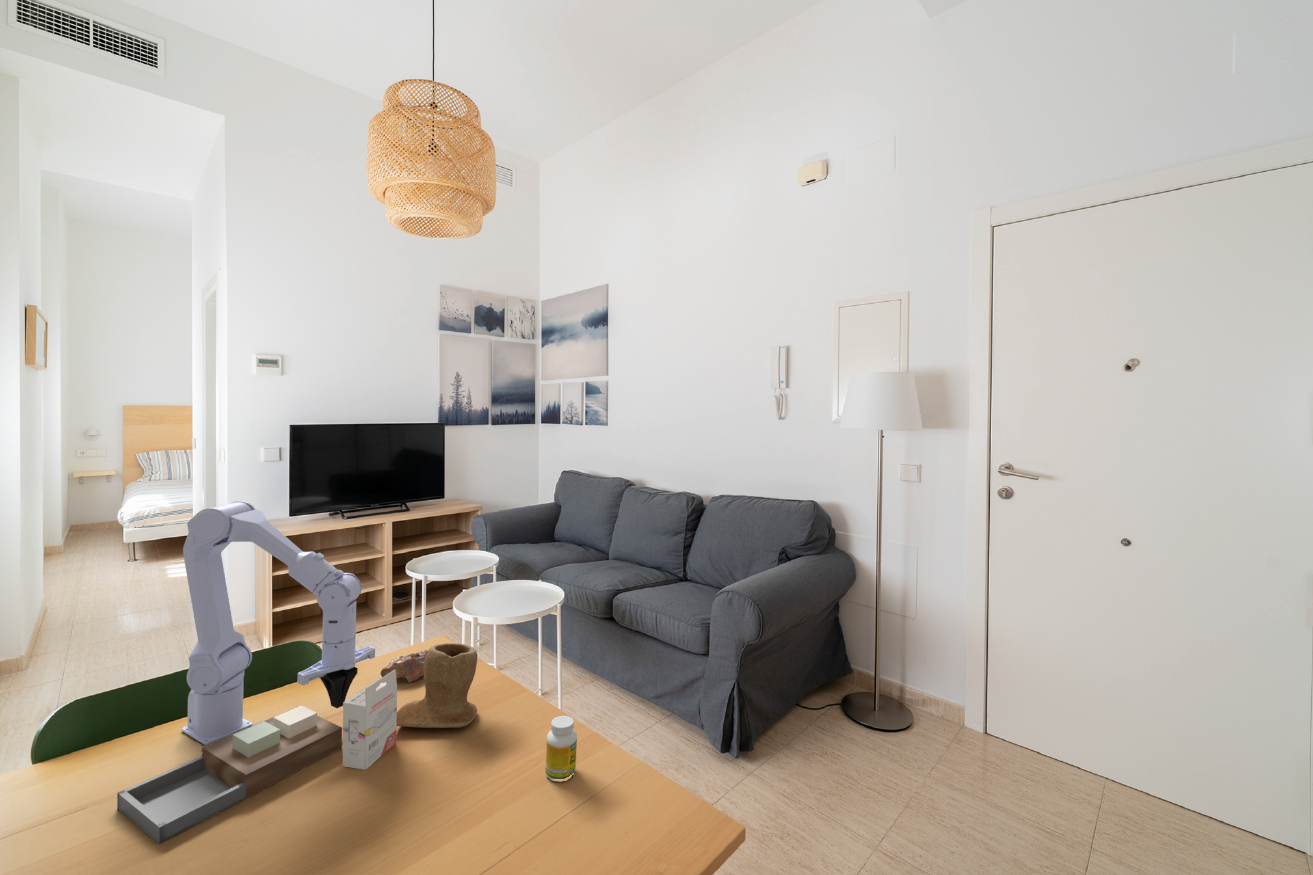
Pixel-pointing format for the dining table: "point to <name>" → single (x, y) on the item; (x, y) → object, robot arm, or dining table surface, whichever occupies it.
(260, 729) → the sage tile
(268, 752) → the walnut board
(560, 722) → the supplement bottle
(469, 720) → the brown hollow boot figurine
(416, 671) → the mineral specimen
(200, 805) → the tray
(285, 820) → the dining table surface
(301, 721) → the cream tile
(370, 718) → the ink cartridge box
